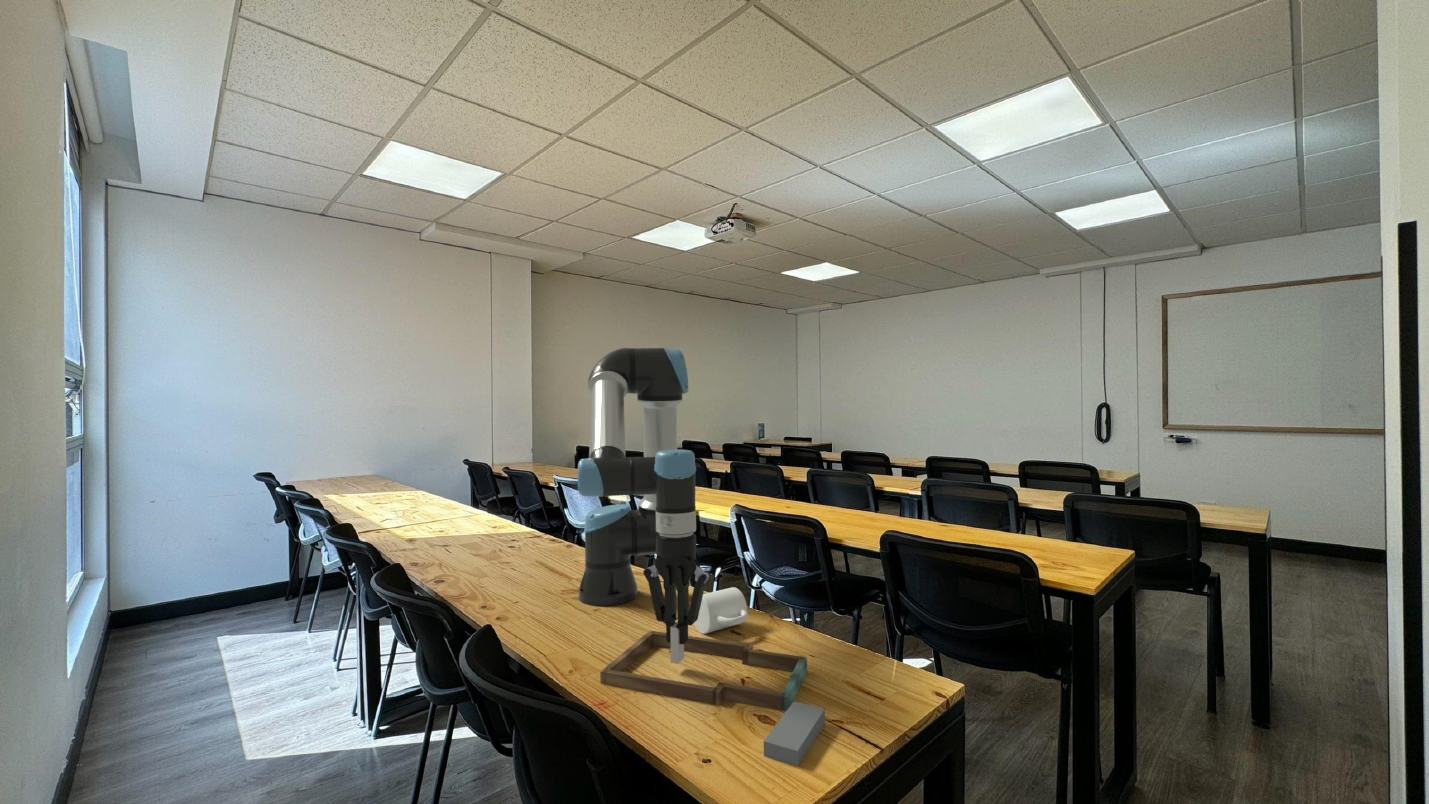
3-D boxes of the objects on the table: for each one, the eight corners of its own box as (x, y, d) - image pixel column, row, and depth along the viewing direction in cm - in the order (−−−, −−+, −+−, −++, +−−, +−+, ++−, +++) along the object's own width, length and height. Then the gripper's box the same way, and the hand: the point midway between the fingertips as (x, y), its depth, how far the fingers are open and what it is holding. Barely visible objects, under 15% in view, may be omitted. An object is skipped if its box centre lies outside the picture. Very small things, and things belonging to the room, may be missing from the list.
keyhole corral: (649, 642, 120) (649, 630, 120) (809, 666, 108) (809, 652, 108) (600, 685, 102) (600, 671, 102) (785, 719, 90) (785, 703, 90)
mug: (690, 627, 128) (690, 591, 128) (726, 617, 134) (726, 583, 134) (721, 645, 118) (720, 606, 118) (759, 634, 124) (758, 597, 124)
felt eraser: (797, 773, 78) (797, 751, 78) (763, 762, 80) (763, 741, 80) (824, 728, 88) (824, 708, 88) (794, 720, 91) (793, 701, 91)
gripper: (635, 535, 106) (636, 663, 106) (700, 540, 101) (702, 674, 101) (653, 526, 113) (655, 647, 113) (715, 531, 108) (717, 656, 108)
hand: (677, 659), depth 107 cm, fingers closed
